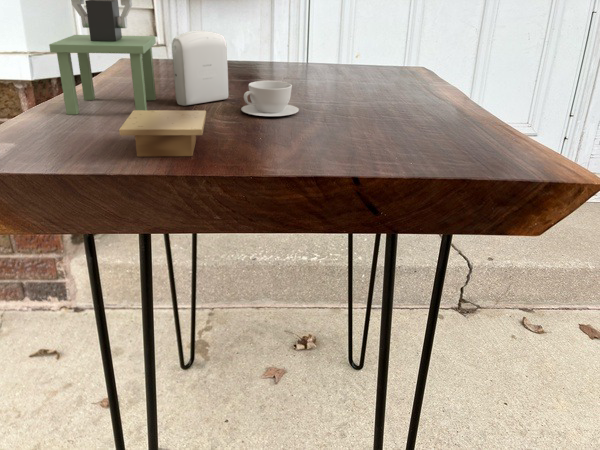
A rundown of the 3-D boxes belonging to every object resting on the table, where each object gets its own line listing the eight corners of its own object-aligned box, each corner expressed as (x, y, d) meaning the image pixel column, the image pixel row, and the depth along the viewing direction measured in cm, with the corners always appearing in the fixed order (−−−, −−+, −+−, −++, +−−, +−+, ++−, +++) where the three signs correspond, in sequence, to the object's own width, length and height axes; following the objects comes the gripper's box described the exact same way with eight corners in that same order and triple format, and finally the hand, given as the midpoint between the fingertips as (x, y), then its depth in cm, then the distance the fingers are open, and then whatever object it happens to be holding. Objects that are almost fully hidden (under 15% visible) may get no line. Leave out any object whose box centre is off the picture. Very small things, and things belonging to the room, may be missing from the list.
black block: (90, 40, 85) (85, 0, 82) (97, 37, 89) (92, -1, 87) (116, 41, 85) (111, 1, 83) (122, 37, 90) (117, -1, 87)
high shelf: (60, 115, 85) (48, 44, 80) (83, 97, 98) (74, 34, 93) (149, 115, 87) (143, 45, 82) (160, 97, 99) (155, 36, 95)
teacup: (278, 103, 98) (278, 77, 96) (310, 114, 91) (311, 87, 89) (230, 109, 93) (229, 82, 91) (260, 121, 85) (260, 92, 83)
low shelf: (122, 160, 66) (118, 129, 64) (136, 138, 75) (133, 110, 73) (203, 160, 67) (202, 129, 65) (207, 138, 76) (206, 110, 74)
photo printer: (184, 107, 93) (179, 33, 88) (172, 103, 96) (166, 30, 90) (232, 100, 99) (230, 30, 94) (219, 96, 102) (216, 28, 97)
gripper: (165, -65, 85) (171, 27, 91) (31, -70, 82) (47, 24, 88) (160, -67, 79) (167, 30, 85) (16, -73, 77) (34, 28, 83)
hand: (105, 27), depth 87 cm, fingers closed on black block, 4 cm apart
